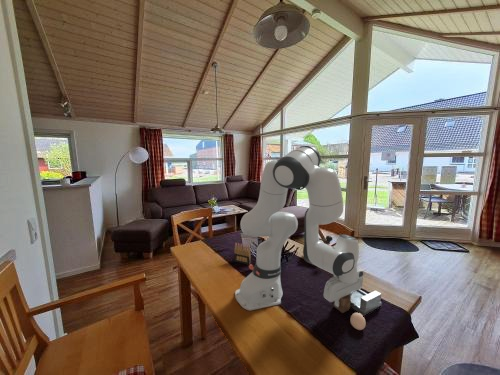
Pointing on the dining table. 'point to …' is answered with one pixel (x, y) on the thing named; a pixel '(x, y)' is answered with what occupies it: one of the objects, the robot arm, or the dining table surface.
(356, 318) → the egg
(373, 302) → the vise
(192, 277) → the dining table surface
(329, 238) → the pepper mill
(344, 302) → the block
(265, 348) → the dining table surface
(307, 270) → the dining table surface
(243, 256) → the ammunition clip
